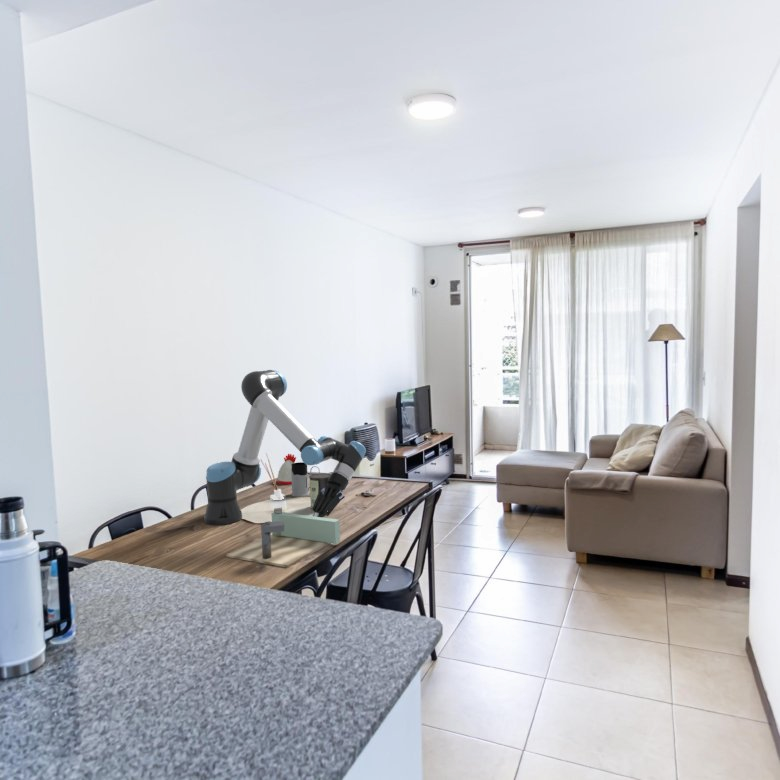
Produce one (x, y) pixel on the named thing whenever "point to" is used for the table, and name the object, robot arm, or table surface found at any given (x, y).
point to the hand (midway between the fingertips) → (310, 529)
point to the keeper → (269, 536)
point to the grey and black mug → (300, 479)
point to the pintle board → (278, 549)
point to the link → (308, 527)
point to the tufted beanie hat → (286, 470)
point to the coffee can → (317, 484)
